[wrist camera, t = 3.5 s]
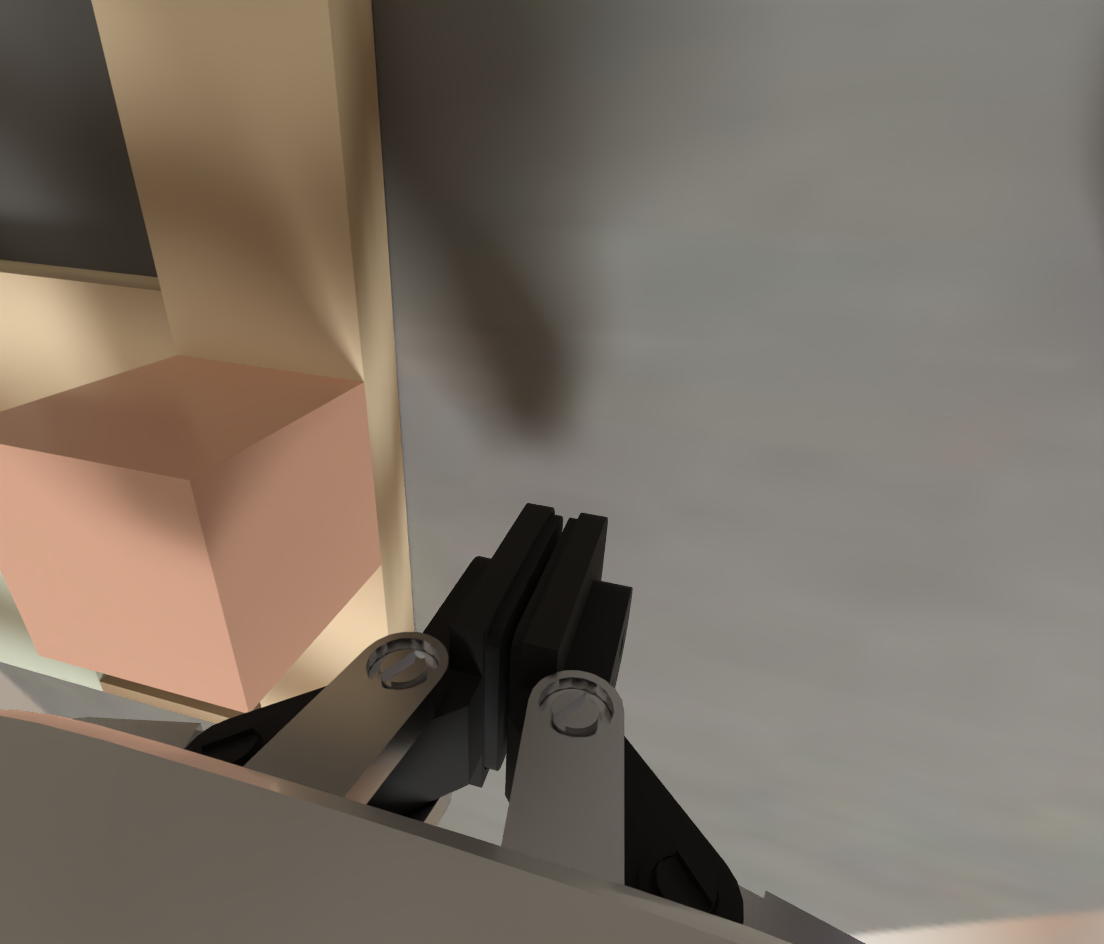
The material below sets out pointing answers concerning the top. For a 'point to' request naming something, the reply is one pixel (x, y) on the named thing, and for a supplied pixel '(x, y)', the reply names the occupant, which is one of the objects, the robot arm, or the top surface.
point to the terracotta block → (188, 522)
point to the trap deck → (201, 237)
